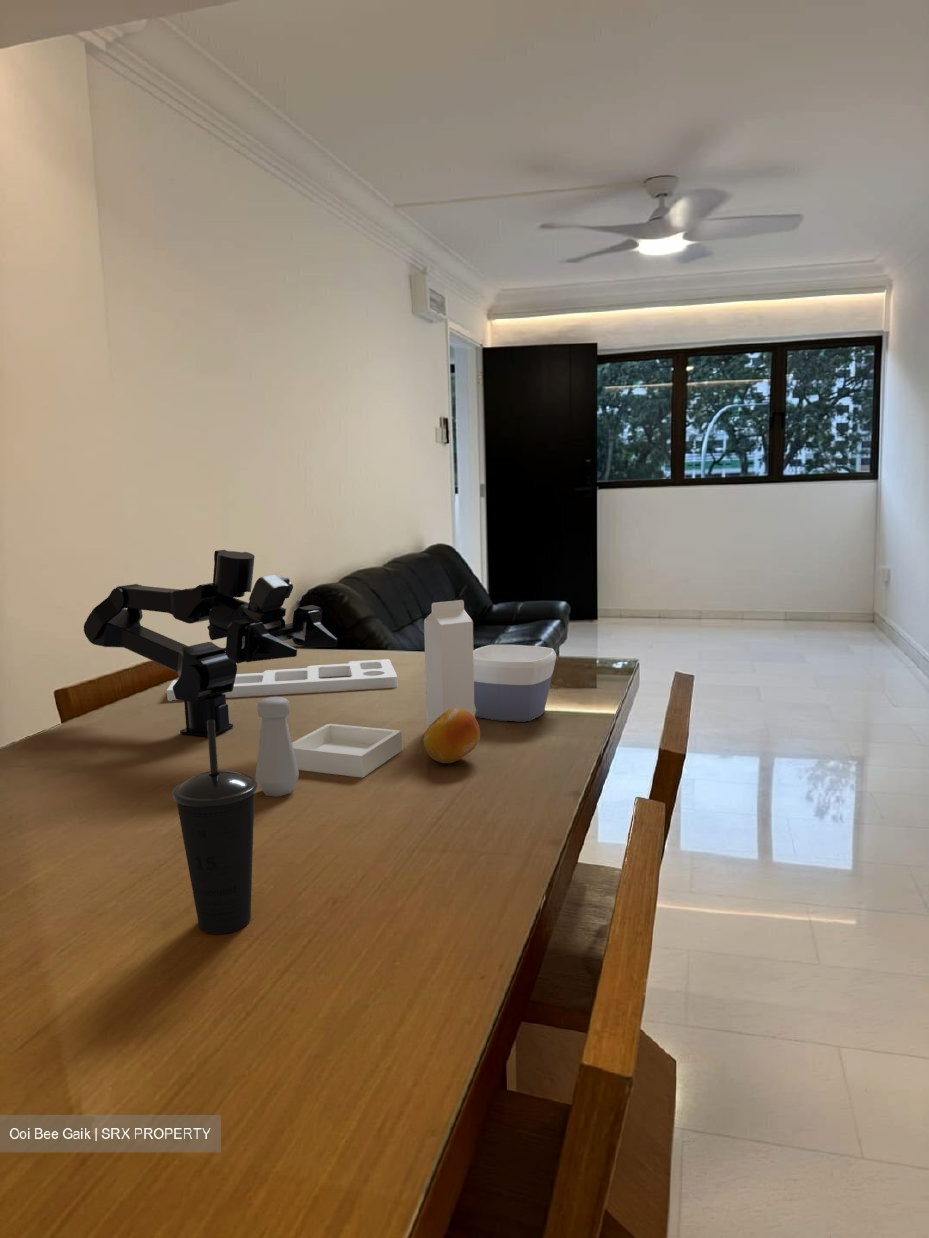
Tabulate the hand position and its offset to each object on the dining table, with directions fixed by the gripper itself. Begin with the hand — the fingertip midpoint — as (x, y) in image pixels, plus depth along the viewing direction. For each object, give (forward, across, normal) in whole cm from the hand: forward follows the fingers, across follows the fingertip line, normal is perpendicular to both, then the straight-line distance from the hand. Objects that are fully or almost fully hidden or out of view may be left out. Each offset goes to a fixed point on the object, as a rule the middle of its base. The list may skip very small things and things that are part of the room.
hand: (316, 647), depth 132 cm
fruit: (+23, +6, +12) cm, 27 cm away
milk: (+15, +19, +14) cm, 28 cm away
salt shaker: (+9, -16, +15) cm, 24 cm away
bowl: (+18, +34, +13) cm, 41 cm away
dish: (+8, -1, +15) cm, 17 cm away
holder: (-33, +32, +25) cm, 52 cm away
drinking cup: (+29, -44, +11) cm, 54 cm away
